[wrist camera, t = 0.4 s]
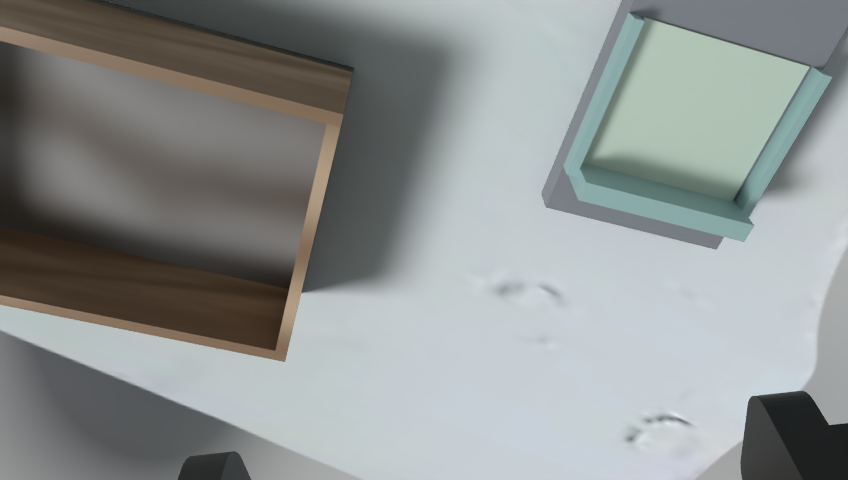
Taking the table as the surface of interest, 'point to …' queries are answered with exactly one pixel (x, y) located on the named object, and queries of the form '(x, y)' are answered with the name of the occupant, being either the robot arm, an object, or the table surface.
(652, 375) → the table surface
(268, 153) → the open wooden storage bin
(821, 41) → the dock plate
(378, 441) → the table surface
